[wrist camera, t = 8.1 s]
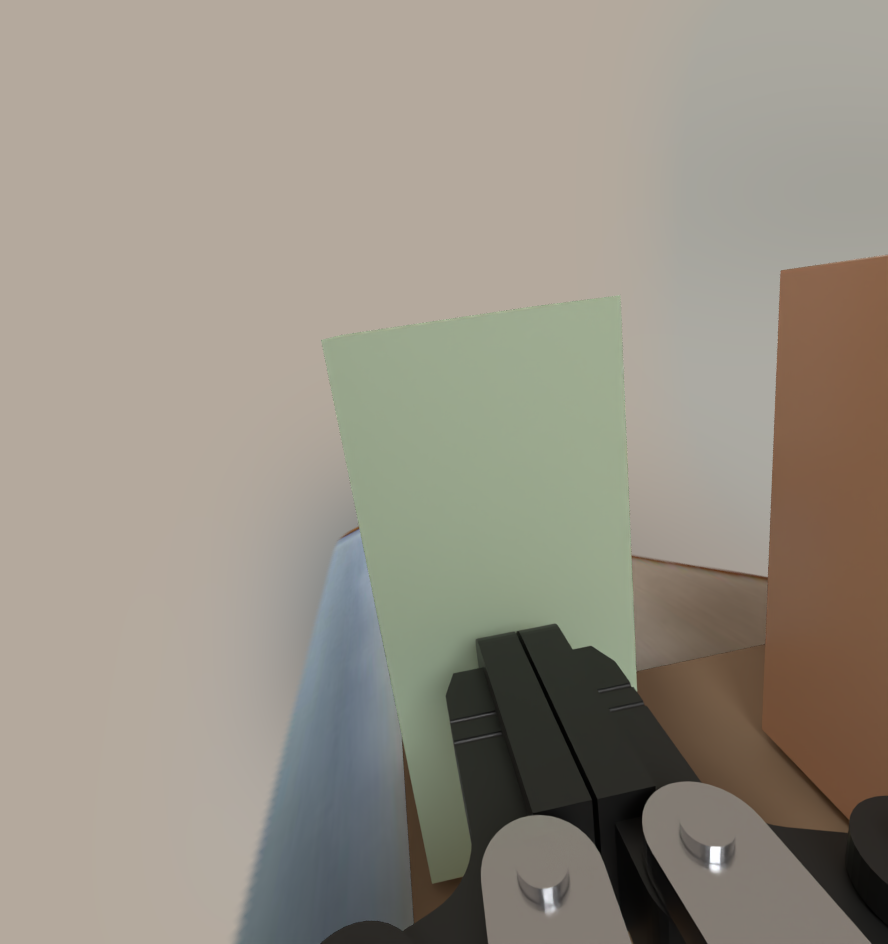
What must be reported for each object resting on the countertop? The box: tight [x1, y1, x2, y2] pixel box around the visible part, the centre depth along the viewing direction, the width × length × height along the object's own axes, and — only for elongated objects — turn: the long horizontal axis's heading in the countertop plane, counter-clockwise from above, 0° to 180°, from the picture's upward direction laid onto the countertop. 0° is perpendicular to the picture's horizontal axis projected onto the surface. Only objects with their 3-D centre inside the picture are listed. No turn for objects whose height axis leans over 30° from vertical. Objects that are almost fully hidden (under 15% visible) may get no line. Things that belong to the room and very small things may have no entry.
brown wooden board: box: [402, 644, 849, 944], centre depth 13 cm, size 15×10×2 cm, turn 98°
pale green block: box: [321, 296, 637, 884], centre depth 13 cm, size 5×5×12 cm
